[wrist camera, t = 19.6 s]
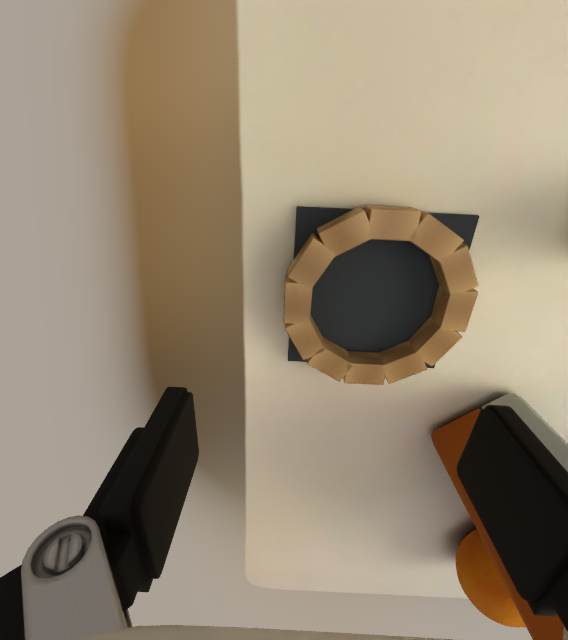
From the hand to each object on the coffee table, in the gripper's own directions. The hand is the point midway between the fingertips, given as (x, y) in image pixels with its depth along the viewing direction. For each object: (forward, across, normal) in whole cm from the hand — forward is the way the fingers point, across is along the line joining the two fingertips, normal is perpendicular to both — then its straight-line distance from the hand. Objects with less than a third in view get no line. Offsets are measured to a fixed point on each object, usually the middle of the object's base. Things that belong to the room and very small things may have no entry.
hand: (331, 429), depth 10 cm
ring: (+16, -5, +2) cm, 17 cm away
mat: (+16, -5, +2) cm, 17 cm away
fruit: (+16, -25, +33) cm, 44 cm away
